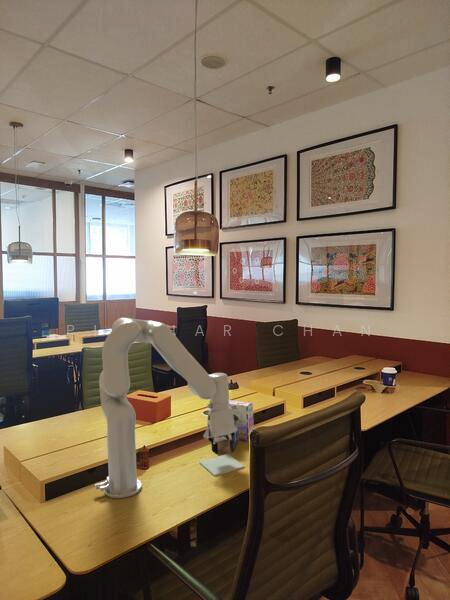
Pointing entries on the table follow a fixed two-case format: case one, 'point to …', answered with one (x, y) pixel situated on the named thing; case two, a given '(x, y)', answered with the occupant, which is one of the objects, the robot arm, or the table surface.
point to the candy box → (242, 418)
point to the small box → (233, 438)
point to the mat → (221, 465)
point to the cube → (223, 446)
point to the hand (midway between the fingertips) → (221, 450)
